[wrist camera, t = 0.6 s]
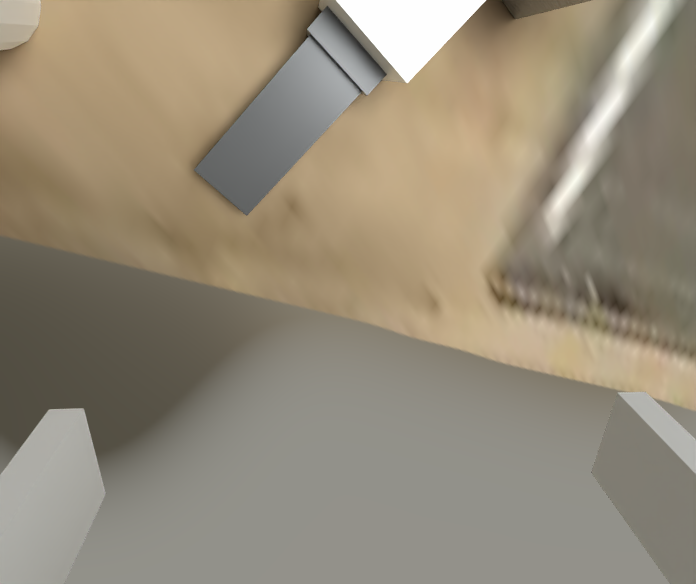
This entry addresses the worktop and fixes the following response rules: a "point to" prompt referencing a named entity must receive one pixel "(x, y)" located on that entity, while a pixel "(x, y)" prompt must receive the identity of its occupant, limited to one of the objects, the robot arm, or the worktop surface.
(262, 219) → the worktop surface
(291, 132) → the plug
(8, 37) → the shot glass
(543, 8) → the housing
